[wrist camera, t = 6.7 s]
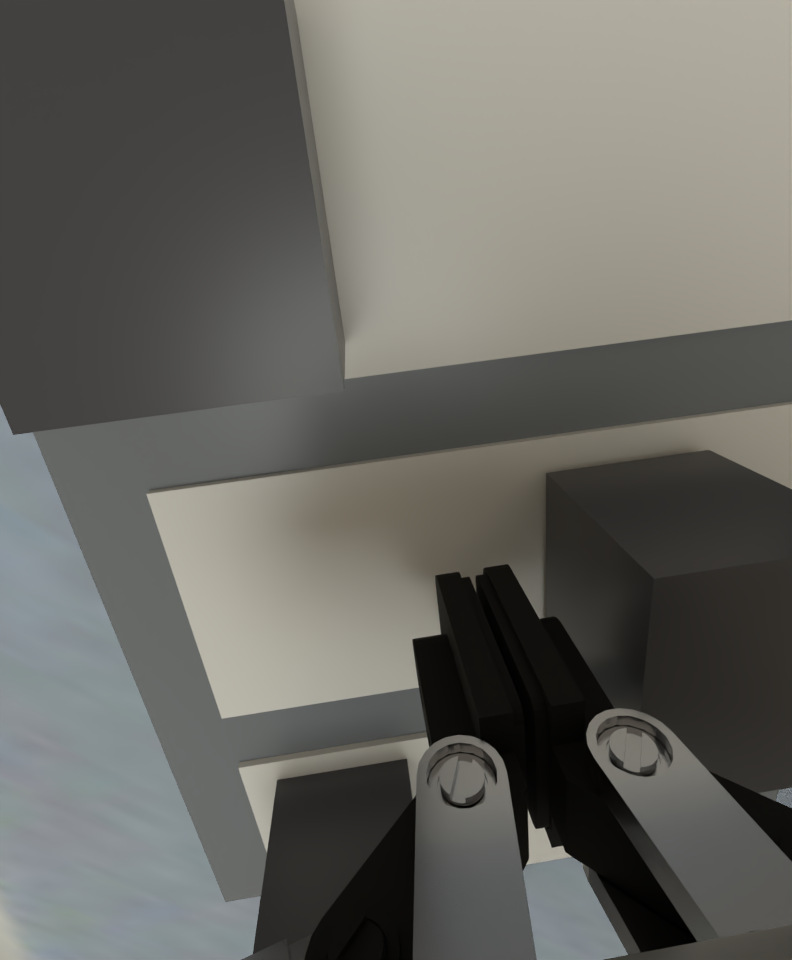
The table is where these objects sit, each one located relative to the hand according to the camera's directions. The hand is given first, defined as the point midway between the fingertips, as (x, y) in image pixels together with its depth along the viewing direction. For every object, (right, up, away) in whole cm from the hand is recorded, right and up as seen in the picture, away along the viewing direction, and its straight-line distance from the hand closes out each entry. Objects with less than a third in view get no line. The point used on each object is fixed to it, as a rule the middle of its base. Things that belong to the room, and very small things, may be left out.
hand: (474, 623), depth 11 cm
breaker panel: (+1, +2, +5) cm, 5 cm away
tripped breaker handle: (+4, +1, +2) cm, 4 cm away
